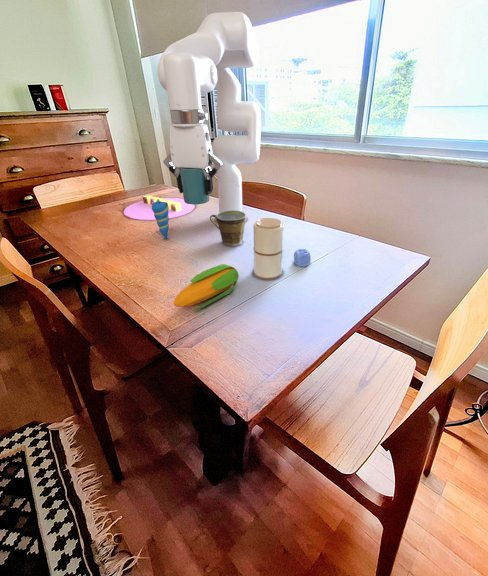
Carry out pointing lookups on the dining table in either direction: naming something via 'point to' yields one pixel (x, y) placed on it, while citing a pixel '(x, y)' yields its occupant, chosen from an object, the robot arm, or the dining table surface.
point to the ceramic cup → (231, 226)
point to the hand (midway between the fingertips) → (195, 192)
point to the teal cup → (193, 186)
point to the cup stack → (268, 248)
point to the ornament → (161, 217)
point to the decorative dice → (302, 257)
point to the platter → (146, 213)
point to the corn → (208, 286)
